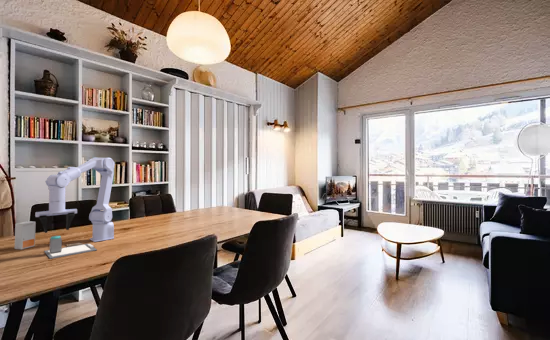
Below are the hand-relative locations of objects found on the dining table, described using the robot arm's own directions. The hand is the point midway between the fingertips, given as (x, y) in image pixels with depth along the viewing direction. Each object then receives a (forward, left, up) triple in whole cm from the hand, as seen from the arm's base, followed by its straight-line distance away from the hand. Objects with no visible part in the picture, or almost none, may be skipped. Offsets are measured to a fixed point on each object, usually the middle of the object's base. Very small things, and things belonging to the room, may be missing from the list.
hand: (56, 230), depth 121 cm
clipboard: (-5, +2, -10) cm, 11 cm away
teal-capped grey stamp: (+1, +1, -9) cm, 9 cm away
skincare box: (+9, -19, -10) cm, 24 cm away
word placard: (-8, -9, -10) cm, 16 cm away
